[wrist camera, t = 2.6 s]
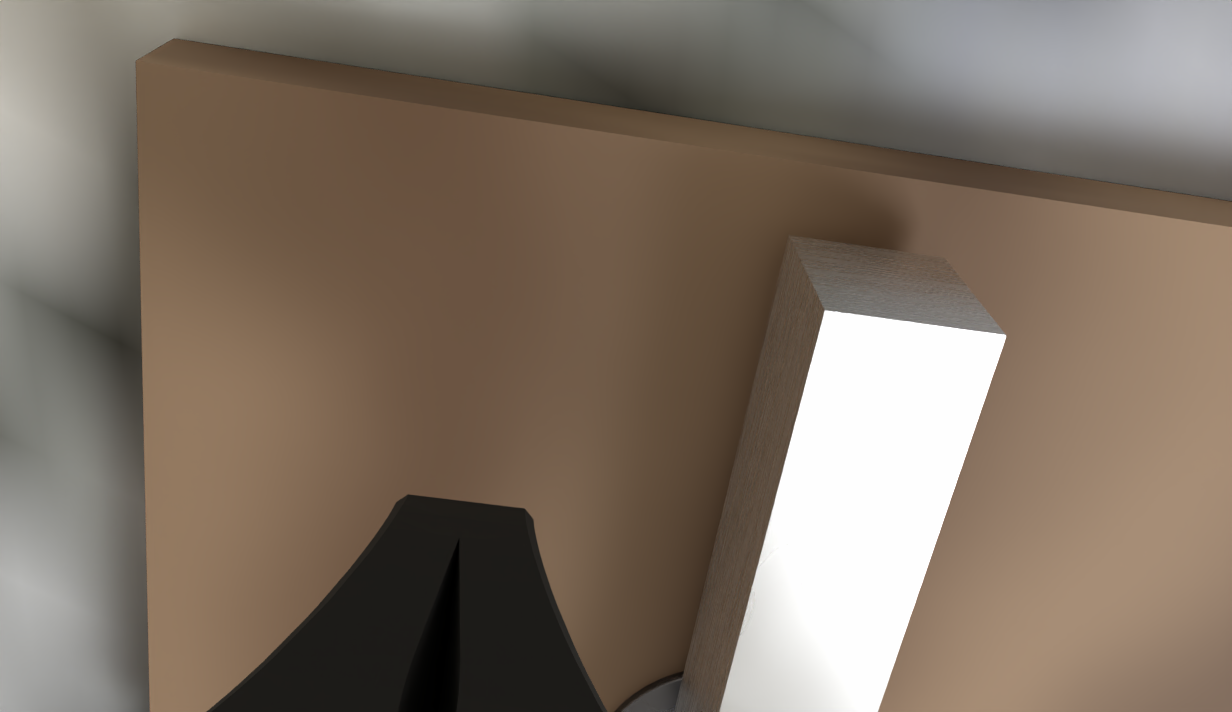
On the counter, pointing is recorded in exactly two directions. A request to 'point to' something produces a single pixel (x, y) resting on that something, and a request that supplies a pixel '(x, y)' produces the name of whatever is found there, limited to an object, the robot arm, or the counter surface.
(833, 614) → the lock bar
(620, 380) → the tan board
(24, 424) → the counter surface
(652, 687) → the plates
